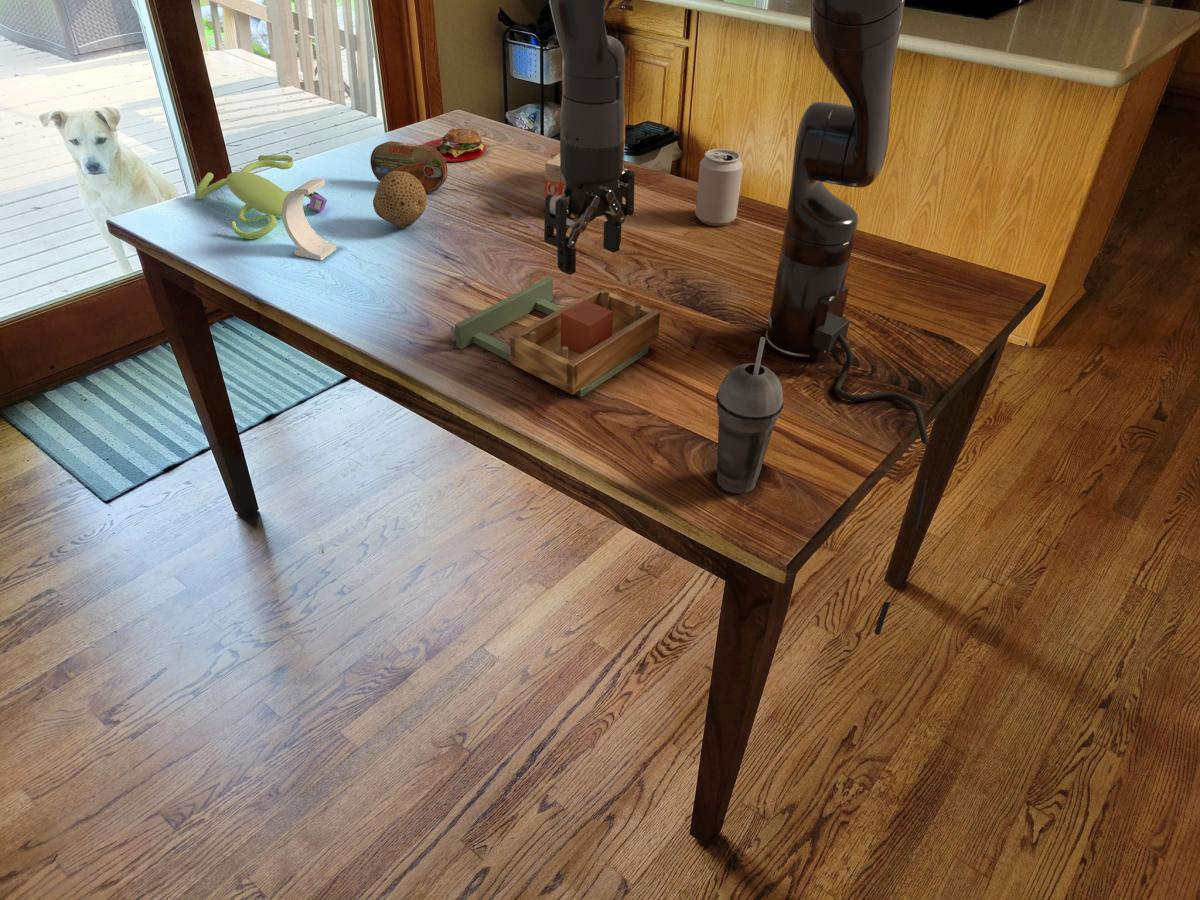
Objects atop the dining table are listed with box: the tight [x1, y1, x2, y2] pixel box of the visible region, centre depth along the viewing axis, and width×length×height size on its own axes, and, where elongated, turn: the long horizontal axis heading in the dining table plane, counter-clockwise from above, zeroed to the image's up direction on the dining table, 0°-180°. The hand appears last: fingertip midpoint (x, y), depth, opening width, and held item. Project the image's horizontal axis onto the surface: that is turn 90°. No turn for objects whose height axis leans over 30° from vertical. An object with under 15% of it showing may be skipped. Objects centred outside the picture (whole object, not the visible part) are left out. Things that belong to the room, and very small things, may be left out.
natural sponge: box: [372, 171, 427, 229], centre depth 149 cm, size 9×9×10 cm
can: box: [694, 148, 744, 227], centre depth 155 cm, size 8×8×12 cm
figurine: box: [194, 154, 328, 240], centre depth 156 cm, size 18×27×6 cm
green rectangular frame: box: [454, 276, 649, 398], centre depth 122 cm, size 21×19×4 cm
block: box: [561, 300, 613, 354], centre depth 117 cm, size 5×5×5 cm
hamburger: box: [422, 127, 487, 162], centre depth 181 cm, size 14×14×6 cm
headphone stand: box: [281, 178, 338, 261], centre depth 141 cm, size 5×6×12 cm
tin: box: [369, 140, 449, 194], centre depth 164 cm, size 15×3×8 cm, turn 73°
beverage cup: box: [715, 336, 784, 494], centre depth 95 cm, size 7×7×20 cm
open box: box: [509, 287, 661, 395], centre depth 118 cm, size 11×18×5 cm, turn 140°
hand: (589, 260), depth 112 cm, fingers open, 8 cm apart
